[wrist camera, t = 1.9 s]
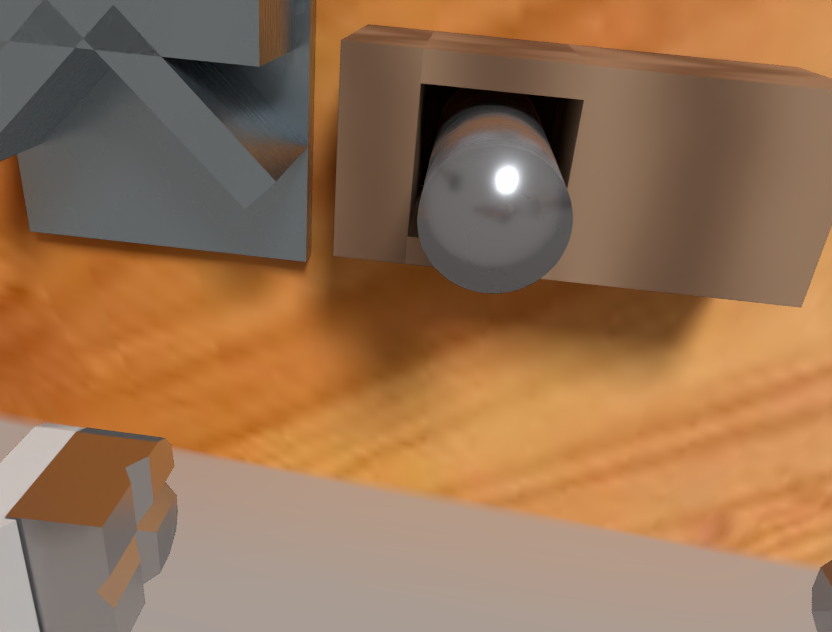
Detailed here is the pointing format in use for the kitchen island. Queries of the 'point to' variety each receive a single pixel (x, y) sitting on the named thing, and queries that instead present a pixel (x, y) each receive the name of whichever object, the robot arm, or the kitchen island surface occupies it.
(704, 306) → the kitchen island surface
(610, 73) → the walnut beam
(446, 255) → the steel axle
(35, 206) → the V-block
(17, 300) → the kitchen island surface
